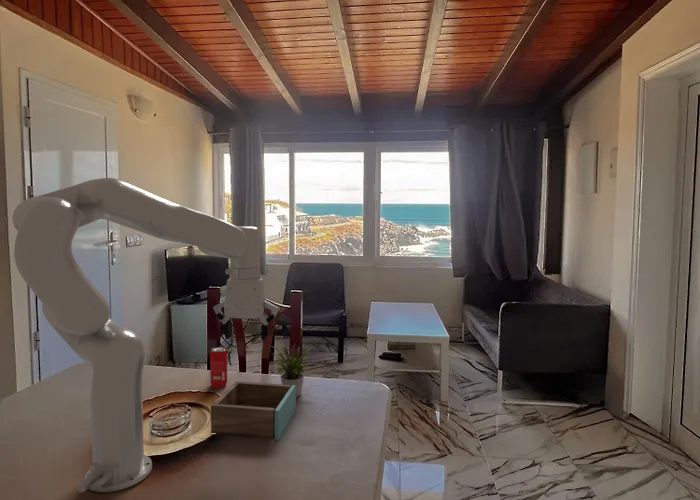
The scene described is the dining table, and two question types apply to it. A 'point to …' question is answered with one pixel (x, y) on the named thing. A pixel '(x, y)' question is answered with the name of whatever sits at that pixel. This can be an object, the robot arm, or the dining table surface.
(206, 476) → the dining table surface
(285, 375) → the house plant
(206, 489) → the dining table surface
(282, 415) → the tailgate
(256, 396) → the crate
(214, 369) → the beverage can
